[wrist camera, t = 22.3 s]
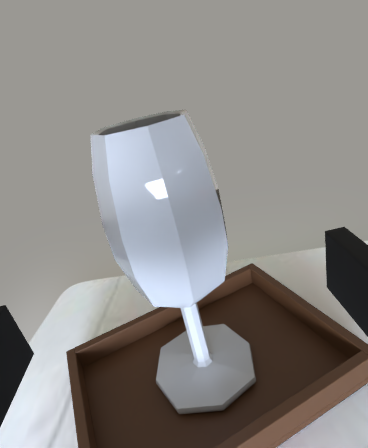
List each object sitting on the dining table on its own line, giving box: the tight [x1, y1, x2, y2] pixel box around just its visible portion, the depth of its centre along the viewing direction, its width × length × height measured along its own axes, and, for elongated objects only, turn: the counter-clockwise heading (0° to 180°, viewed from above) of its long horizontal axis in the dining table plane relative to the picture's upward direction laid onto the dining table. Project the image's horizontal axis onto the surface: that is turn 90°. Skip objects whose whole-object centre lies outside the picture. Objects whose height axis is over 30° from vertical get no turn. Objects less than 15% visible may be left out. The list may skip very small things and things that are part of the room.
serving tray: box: [66, 264, 368, 448], centre depth 27 cm, size 22×16×3 cm
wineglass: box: [91, 110, 256, 414], centre depth 23 cm, size 9×9×21 cm
